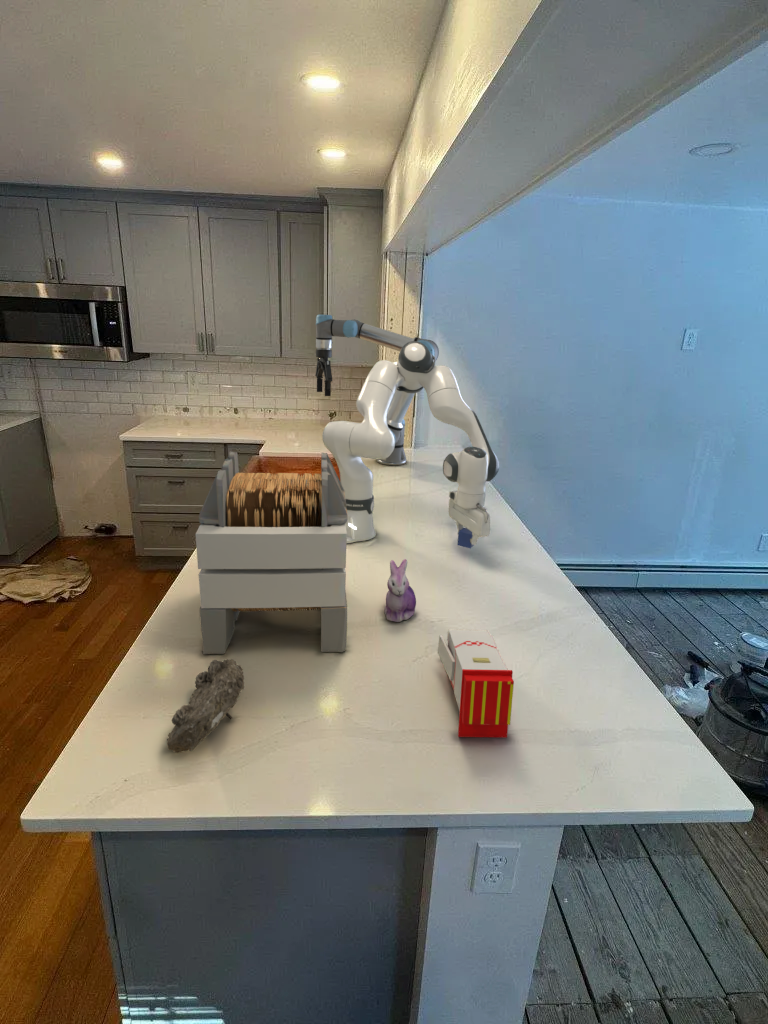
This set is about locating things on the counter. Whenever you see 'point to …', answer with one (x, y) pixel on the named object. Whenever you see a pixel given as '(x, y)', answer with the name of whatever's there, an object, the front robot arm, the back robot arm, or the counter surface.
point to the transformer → (272, 550)
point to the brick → (465, 538)
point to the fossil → (206, 705)
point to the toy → (478, 682)
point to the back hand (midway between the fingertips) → (323, 394)
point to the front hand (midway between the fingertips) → (466, 539)
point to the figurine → (399, 594)
